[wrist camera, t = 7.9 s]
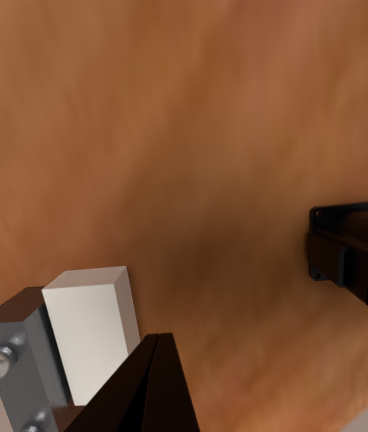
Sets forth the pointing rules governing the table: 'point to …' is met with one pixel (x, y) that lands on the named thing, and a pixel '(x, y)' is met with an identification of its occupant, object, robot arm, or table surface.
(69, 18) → the table surface
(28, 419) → the stop bar
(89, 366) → the white rectangular block
